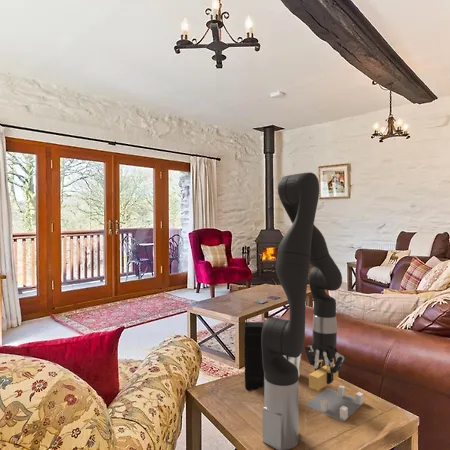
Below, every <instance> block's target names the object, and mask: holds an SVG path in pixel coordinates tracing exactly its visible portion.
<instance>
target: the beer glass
mask: <svg viewBox="0 0 450 450" xmlns="http://www.w3.org/2000/svg"><path fill="white" fill-rule="evenodd" d="M283 356H284V355H283ZM284 357H285V358H286V359H287V360H288V361H290V362H291V363H293V364H294V365H295V366H296V367H297V369H298V378H300V377H301V376H300V364H301V358H302V353H301V354H300V356H299V357H297V358H293V357H288V356H284Z"/></svg>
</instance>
